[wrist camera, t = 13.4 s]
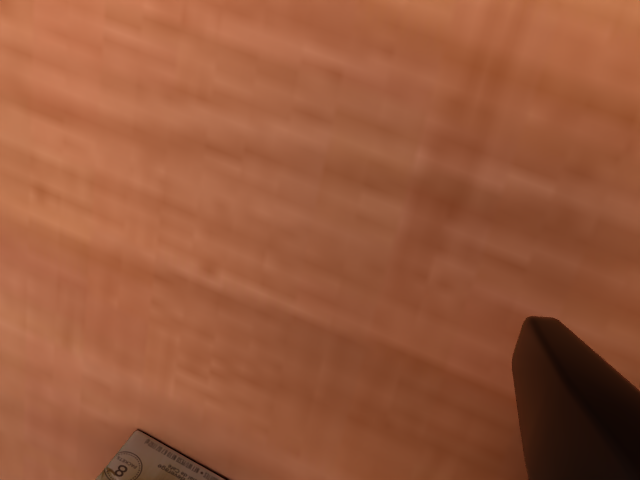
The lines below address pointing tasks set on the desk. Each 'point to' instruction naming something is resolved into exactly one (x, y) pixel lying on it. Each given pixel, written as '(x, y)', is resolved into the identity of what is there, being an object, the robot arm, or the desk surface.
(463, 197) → the desk surface
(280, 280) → the desk surface
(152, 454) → the coffee box
